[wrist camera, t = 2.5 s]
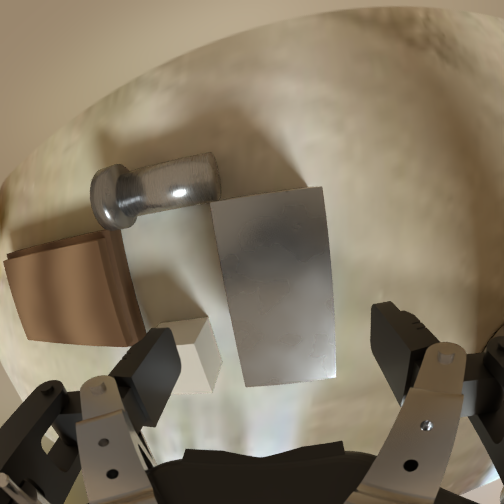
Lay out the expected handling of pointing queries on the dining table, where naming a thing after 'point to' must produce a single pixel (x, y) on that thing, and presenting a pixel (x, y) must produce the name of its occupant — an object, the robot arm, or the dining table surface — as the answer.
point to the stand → (76, 291)
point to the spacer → (195, 355)
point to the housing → (278, 284)
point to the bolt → (152, 189)
